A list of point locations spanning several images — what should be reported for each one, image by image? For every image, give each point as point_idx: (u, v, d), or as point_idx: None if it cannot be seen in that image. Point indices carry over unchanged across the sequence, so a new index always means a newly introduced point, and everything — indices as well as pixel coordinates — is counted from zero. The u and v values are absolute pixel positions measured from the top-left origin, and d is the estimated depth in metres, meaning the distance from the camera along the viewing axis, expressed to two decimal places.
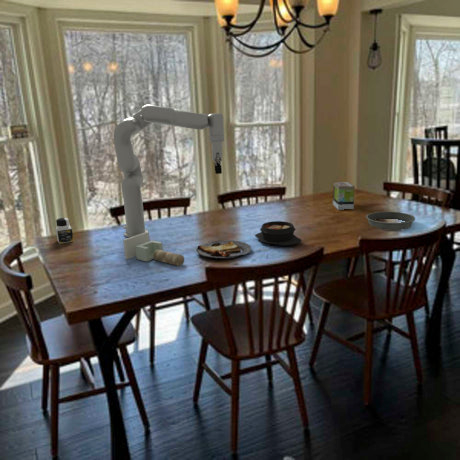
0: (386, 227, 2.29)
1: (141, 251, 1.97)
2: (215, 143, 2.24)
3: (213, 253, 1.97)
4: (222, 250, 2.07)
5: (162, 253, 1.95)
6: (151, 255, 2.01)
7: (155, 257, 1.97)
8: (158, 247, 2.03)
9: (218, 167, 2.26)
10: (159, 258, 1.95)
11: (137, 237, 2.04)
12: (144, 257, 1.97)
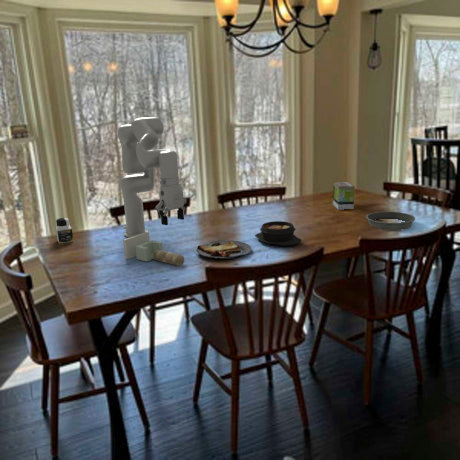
0: (386, 227, 2.29)
1: (141, 251, 1.97)
2: None
3: (213, 253, 1.97)
4: (222, 250, 2.07)
5: (162, 253, 1.95)
6: (151, 255, 2.01)
7: (155, 257, 1.97)
8: (158, 247, 2.03)
9: None
10: (159, 258, 1.95)
11: (137, 237, 2.04)
12: (144, 257, 1.97)
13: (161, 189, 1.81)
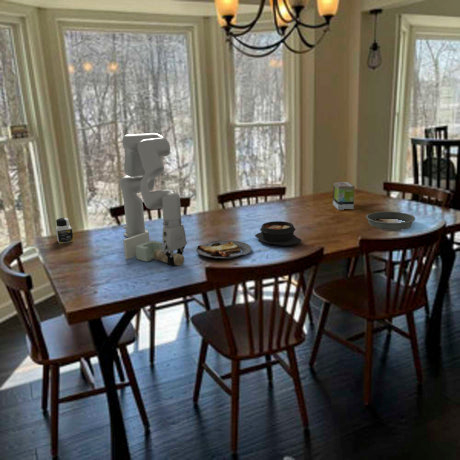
0: (386, 227, 2.29)
1: (141, 251, 1.97)
2: None
3: (213, 253, 1.97)
4: (222, 250, 2.07)
5: (162, 253, 1.95)
6: (151, 255, 2.01)
7: (155, 257, 1.97)
8: (158, 247, 2.03)
9: None
10: (159, 258, 1.95)
11: (137, 237, 2.04)
12: (144, 257, 1.97)
13: (164, 230, 1.86)
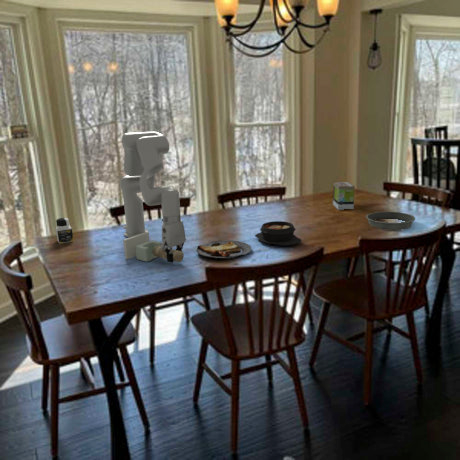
0: (386, 227, 2.29)
1: (141, 251, 1.97)
2: None
3: (213, 253, 1.97)
4: (222, 250, 2.07)
5: (161, 249, 1.94)
6: (151, 255, 2.01)
7: (154, 253, 1.96)
8: None
9: None
10: (158, 254, 1.95)
11: (137, 237, 2.04)
12: (144, 257, 1.97)
13: (163, 227, 1.85)
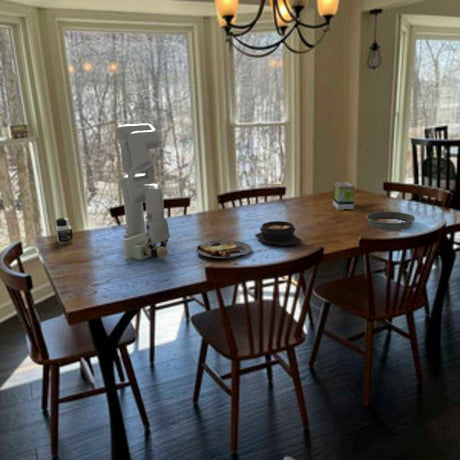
0: (386, 227, 2.29)
1: (135, 250, 2.00)
2: None
3: (213, 253, 1.97)
4: (222, 250, 2.07)
5: (146, 246, 2.00)
6: (145, 254, 2.04)
7: None
8: None
9: None
10: (143, 251, 2.01)
11: (137, 237, 2.04)
12: (138, 256, 2.00)
13: (147, 223, 1.91)
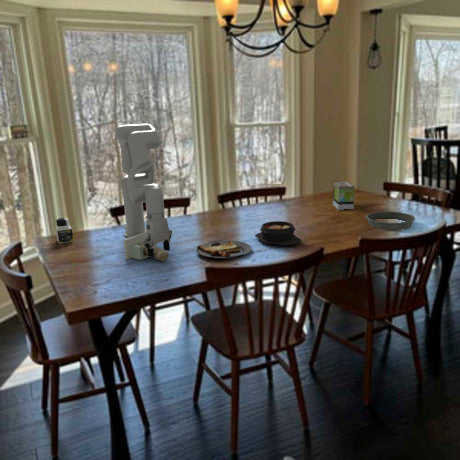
0: (386, 227, 2.29)
1: (135, 250, 2.00)
2: None
3: (213, 253, 1.97)
4: (222, 250, 2.07)
5: None
6: (145, 254, 2.04)
7: None
8: None
9: None
10: (144, 251, 2.00)
11: (137, 237, 2.04)
12: (138, 256, 2.00)
13: (147, 223, 1.91)
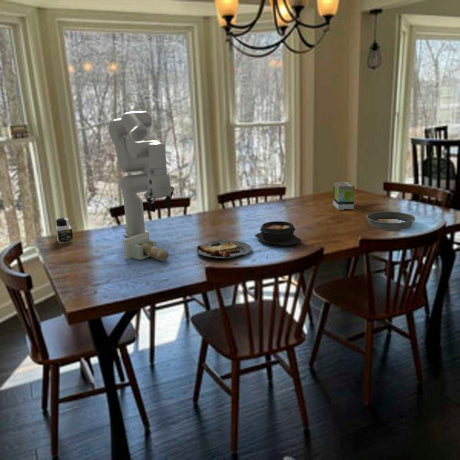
0: (386, 227, 2.29)
1: (135, 250, 2.00)
2: None
3: (213, 253, 1.97)
4: (222, 250, 2.07)
5: (147, 247, 2.00)
6: (145, 254, 2.04)
7: None
8: None
9: None
10: (144, 251, 2.00)
11: (137, 237, 2.04)
12: (138, 256, 2.00)
13: (149, 178, 1.95)
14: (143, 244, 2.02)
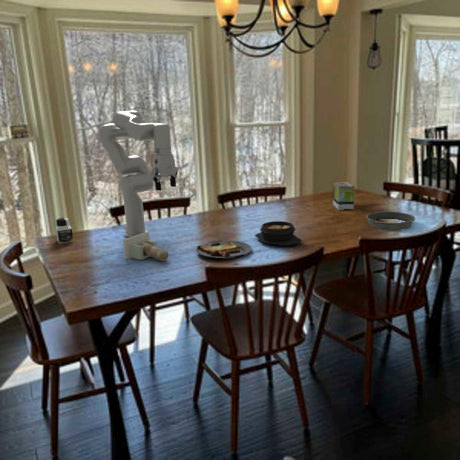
0: (386, 227, 2.29)
1: (135, 250, 2.00)
2: None
3: (213, 253, 1.97)
4: (222, 250, 2.07)
5: (147, 247, 2.00)
6: (145, 254, 2.04)
7: None
8: None
9: None
10: (144, 251, 2.00)
11: (137, 237, 2.04)
12: (138, 256, 2.00)
13: (155, 158, 2.03)
14: (143, 244, 2.02)
